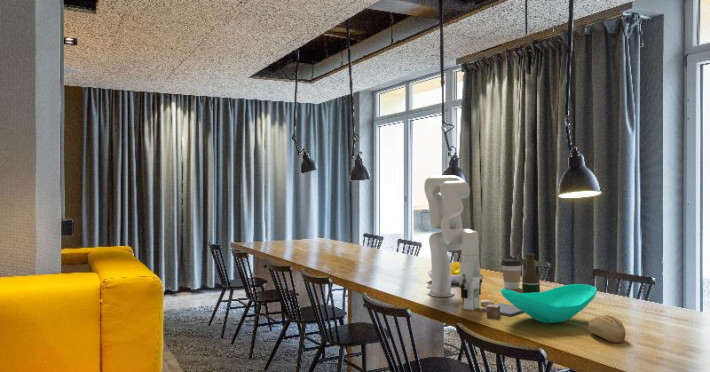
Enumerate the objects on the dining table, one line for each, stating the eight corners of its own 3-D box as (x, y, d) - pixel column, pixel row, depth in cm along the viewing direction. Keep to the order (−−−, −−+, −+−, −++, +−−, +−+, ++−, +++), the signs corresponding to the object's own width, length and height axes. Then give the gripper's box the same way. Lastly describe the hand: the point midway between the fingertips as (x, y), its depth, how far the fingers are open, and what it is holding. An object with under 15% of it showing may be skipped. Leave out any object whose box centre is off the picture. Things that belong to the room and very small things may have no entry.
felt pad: (480, 310, 246) (480, 308, 246) (499, 305, 256) (499, 303, 256) (510, 316, 234) (510, 314, 234) (529, 310, 244) (529, 308, 244)
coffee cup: (525, 289, 290) (525, 261, 290) (503, 290, 290) (503, 261, 290) (519, 285, 301) (519, 258, 301) (498, 286, 302) (498, 258, 302)
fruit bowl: (418, 280, 323) (418, 261, 323) (457, 276, 335) (457, 257, 335) (446, 288, 298) (446, 267, 298) (487, 283, 309) (486, 263, 309)
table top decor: (521, 333, 208) (520, 298, 208) (488, 316, 235) (487, 285, 235) (615, 326, 216) (614, 292, 216) (572, 310, 243) (572, 280, 243)
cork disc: (477, 305, 257) (477, 301, 257) (485, 303, 261) (485, 299, 261) (489, 307, 252) (488, 303, 252) (496, 305, 256) (496, 301, 256)
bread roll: (603, 332, 209) (602, 310, 209) (634, 342, 194) (633, 319, 194) (581, 334, 206) (581, 312, 206) (611, 345, 191) (611, 322, 191)
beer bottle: (528, 308, 247) (527, 254, 247) (518, 305, 255) (518, 252, 255) (543, 307, 249) (543, 254, 249) (533, 304, 257) (533, 252, 257)
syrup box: (468, 306, 254) (467, 274, 254) (480, 308, 250) (479, 276, 250) (462, 309, 250) (461, 276, 250) (474, 310, 246) (473, 277, 246)
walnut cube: (486, 317, 235) (486, 306, 235) (489, 314, 239) (489, 304, 238) (497, 318, 232) (497, 307, 232) (499, 315, 236) (499, 305, 236)
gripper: (474, 255, 258) (475, 292, 258) (451, 259, 247) (452, 298, 247) (488, 256, 253) (489, 294, 253) (465, 260, 241) (466, 300, 241)
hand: (471, 296), depth 250 cm, fingers open, 9 cm apart
